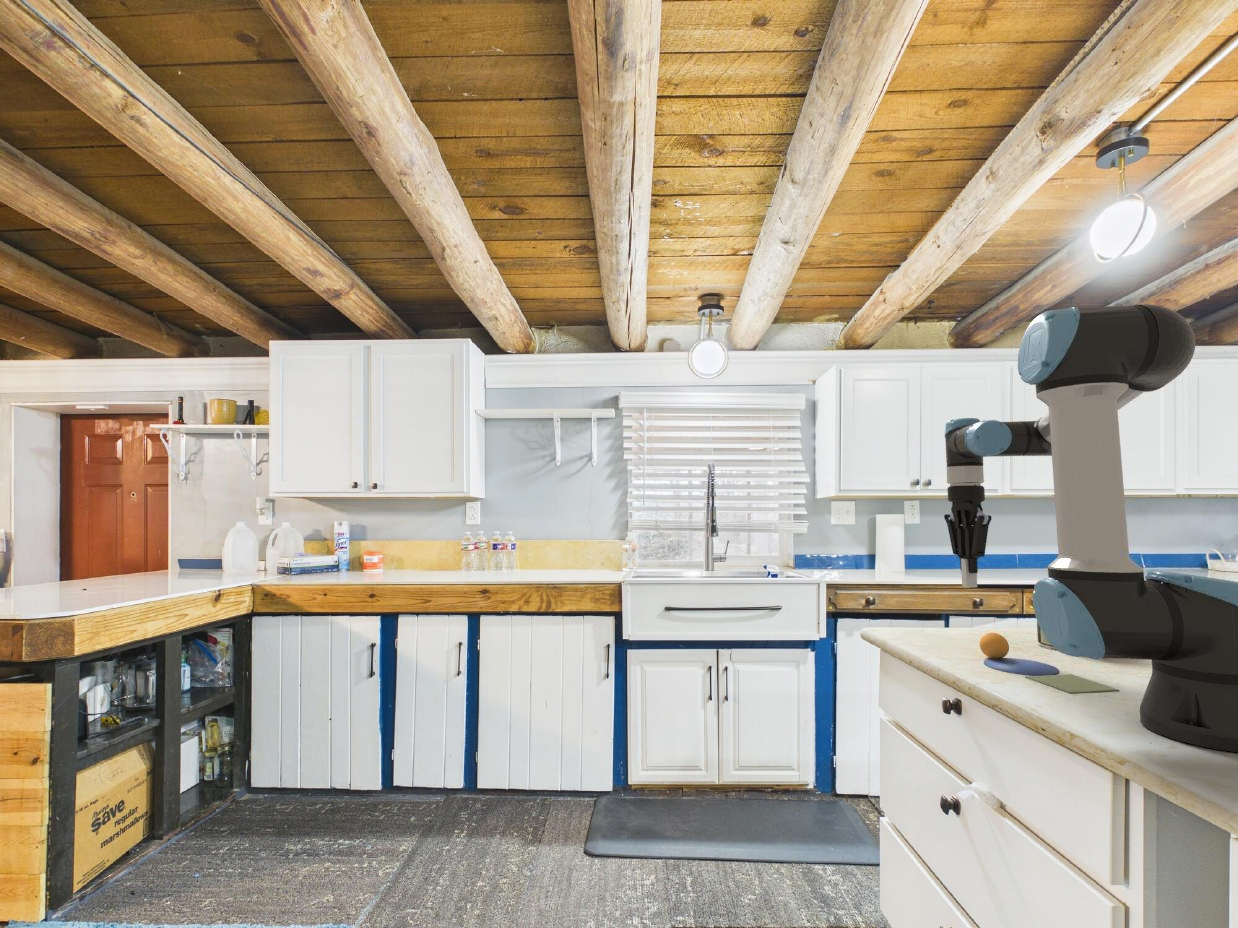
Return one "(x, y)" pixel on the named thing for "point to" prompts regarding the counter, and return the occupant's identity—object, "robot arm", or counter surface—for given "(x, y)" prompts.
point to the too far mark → (1071, 683)
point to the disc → (1021, 666)
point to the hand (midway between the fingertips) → (969, 586)
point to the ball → (994, 645)
